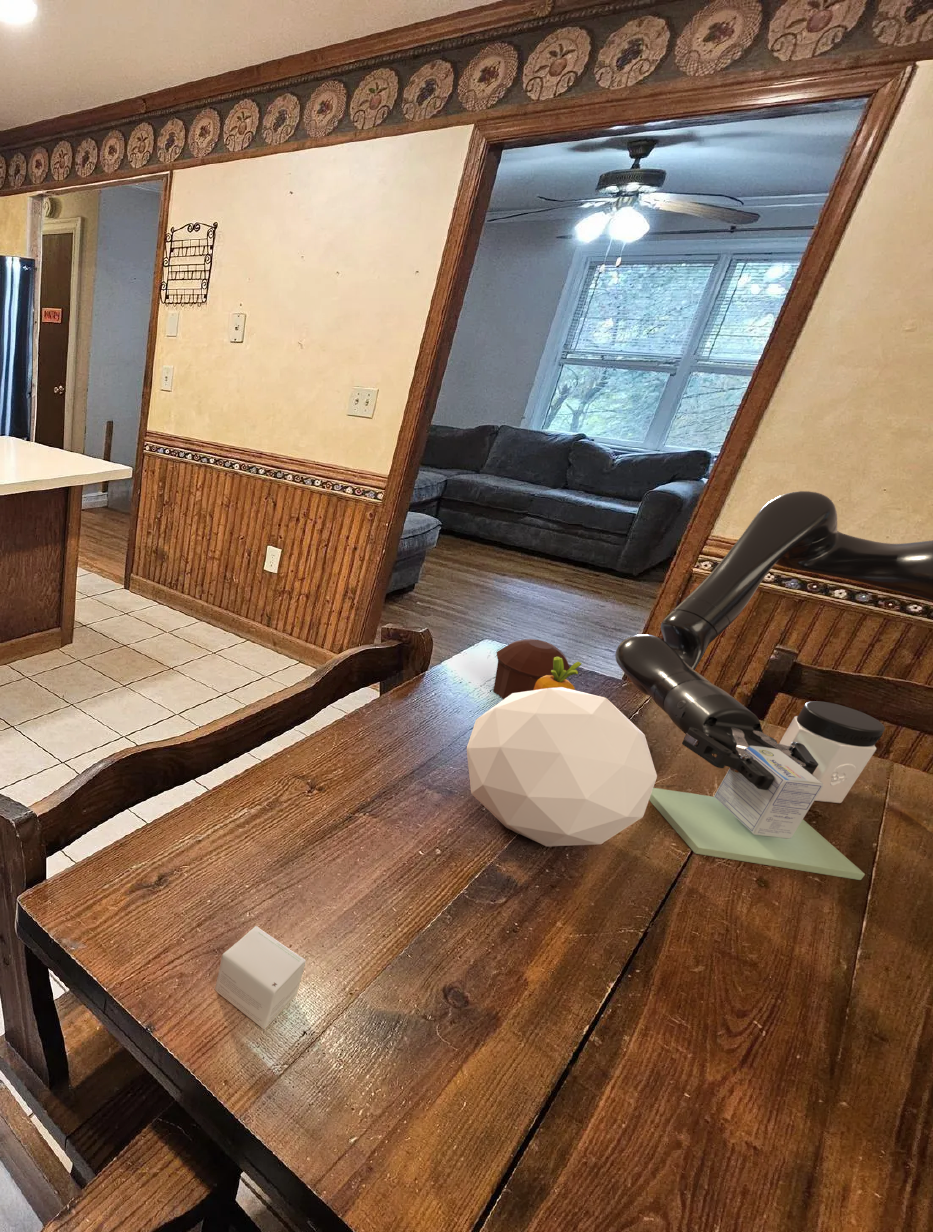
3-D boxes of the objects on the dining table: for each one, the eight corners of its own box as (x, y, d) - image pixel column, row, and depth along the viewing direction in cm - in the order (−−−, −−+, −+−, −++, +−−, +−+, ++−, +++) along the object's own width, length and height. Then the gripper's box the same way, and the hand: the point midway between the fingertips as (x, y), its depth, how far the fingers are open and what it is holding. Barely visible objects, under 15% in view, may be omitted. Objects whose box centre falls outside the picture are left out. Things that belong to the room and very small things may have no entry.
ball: (496, 882, 93) (451, 791, 83) (483, 759, 106) (443, 669, 96) (685, 878, 81) (658, 772, 72) (644, 741, 95) (617, 636, 85)
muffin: (501, 674, 133) (518, 625, 128) (567, 699, 125) (588, 647, 121) (473, 692, 126) (491, 640, 121) (542, 719, 118) (564, 665, 114)
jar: (791, 800, 101) (835, 727, 96) (747, 766, 108) (786, 697, 103) (859, 806, 101) (907, 734, 95) (810, 772, 108) (852, 703, 103)
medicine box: (790, 841, 89) (827, 784, 85) (751, 835, 90) (786, 779, 86) (747, 801, 96) (780, 748, 92) (711, 796, 97) (742, 743, 93)
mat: (786, 813, 98) (790, 807, 98) (861, 880, 87) (865, 874, 86) (641, 791, 101) (644, 786, 101) (694, 853, 89) (698, 847, 89)
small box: (298, 996, 68) (308, 959, 65) (264, 1033, 64) (274, 995, 62) (247, 958, 71) (255, 922, 69) (212, 991, 68) (220, 954, 65)
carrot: (550, 741, 112) (585, 656, 105) (551, 756, 108) (587, 668, 102) (514, 731, 114) (547, 647, 108) (513, 745, 110) (547, 659, 104)
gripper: (753, 745, 103) (842, 821, 88) (643, 730, 105) (711, 802, 90) (779, 701, 100) (876, 771, 85) (665, 686, 102) (740, 752, 87)
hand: (790, 786), depth 88 cm, fingers closed on medicine box, 4 cm apart
